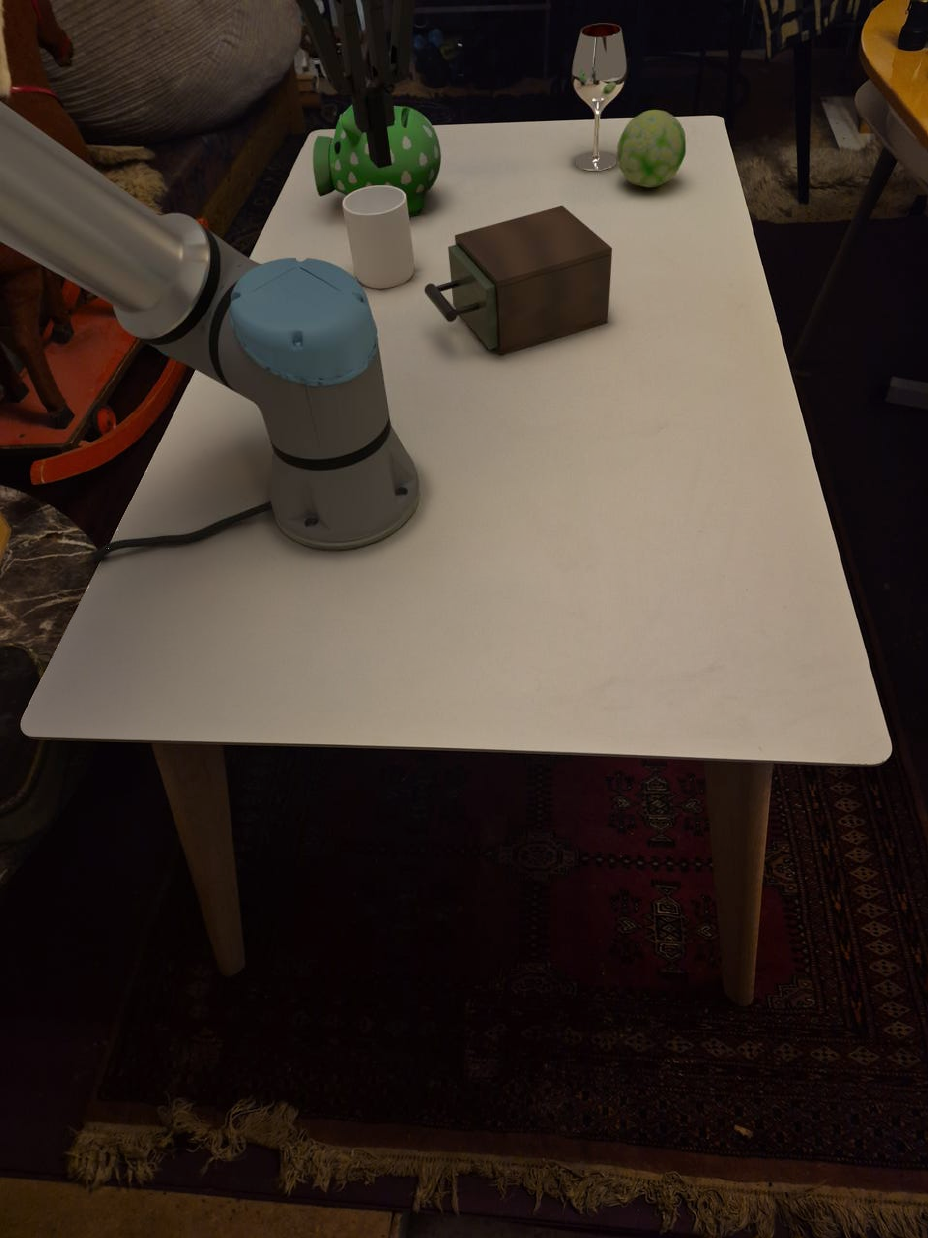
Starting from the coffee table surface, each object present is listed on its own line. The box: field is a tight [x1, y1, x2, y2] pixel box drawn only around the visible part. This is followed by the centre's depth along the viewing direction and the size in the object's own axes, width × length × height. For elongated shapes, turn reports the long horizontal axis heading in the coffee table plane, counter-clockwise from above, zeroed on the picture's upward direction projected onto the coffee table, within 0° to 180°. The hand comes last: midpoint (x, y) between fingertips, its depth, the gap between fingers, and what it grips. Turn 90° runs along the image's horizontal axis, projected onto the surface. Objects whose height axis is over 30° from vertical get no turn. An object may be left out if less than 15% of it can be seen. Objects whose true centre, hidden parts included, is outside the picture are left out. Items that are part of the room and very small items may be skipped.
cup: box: [341, 185, 415, 290], centre depth 115 cm, size 8×12×10 cm
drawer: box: [424, 243, 498, 350], centre depth 104 cm, size 18×11×8 cm, turn 113°
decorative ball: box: [616, 109, 687, 189], centre depth 126 cm, size 10×10×10 cm
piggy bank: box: [312, 104, 442, 217], centre depth 126 cm, size 14×18×15 cm
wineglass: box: [570, 23, 628, 172], centre depth 129 cm, size 8×8×18 cm
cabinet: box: [454, 205, 613, 356], centre depth 105 cm, size 15×13×10 cm
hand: (380, 161), depth 88 cm, fingers closed
